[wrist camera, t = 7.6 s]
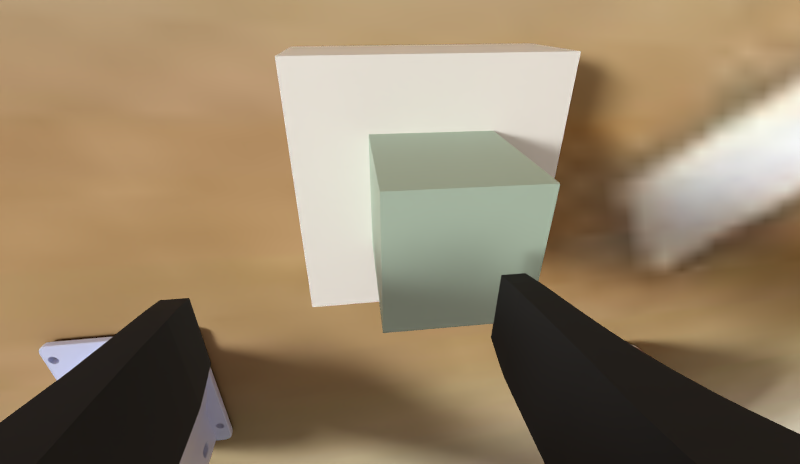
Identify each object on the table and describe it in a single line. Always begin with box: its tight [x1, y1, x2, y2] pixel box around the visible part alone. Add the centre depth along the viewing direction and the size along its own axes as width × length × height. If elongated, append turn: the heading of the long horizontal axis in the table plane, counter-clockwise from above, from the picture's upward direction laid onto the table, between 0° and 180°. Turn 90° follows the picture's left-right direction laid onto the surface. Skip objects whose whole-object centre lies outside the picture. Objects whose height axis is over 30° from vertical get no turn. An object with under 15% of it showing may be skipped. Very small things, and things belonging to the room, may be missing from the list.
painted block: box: [275, 43, 581, 307], centre depth 17 cm, size 10×10×4 cm
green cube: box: [369, 131, 560, 333], centre depth 13 cm, size 4×4×5 cm
